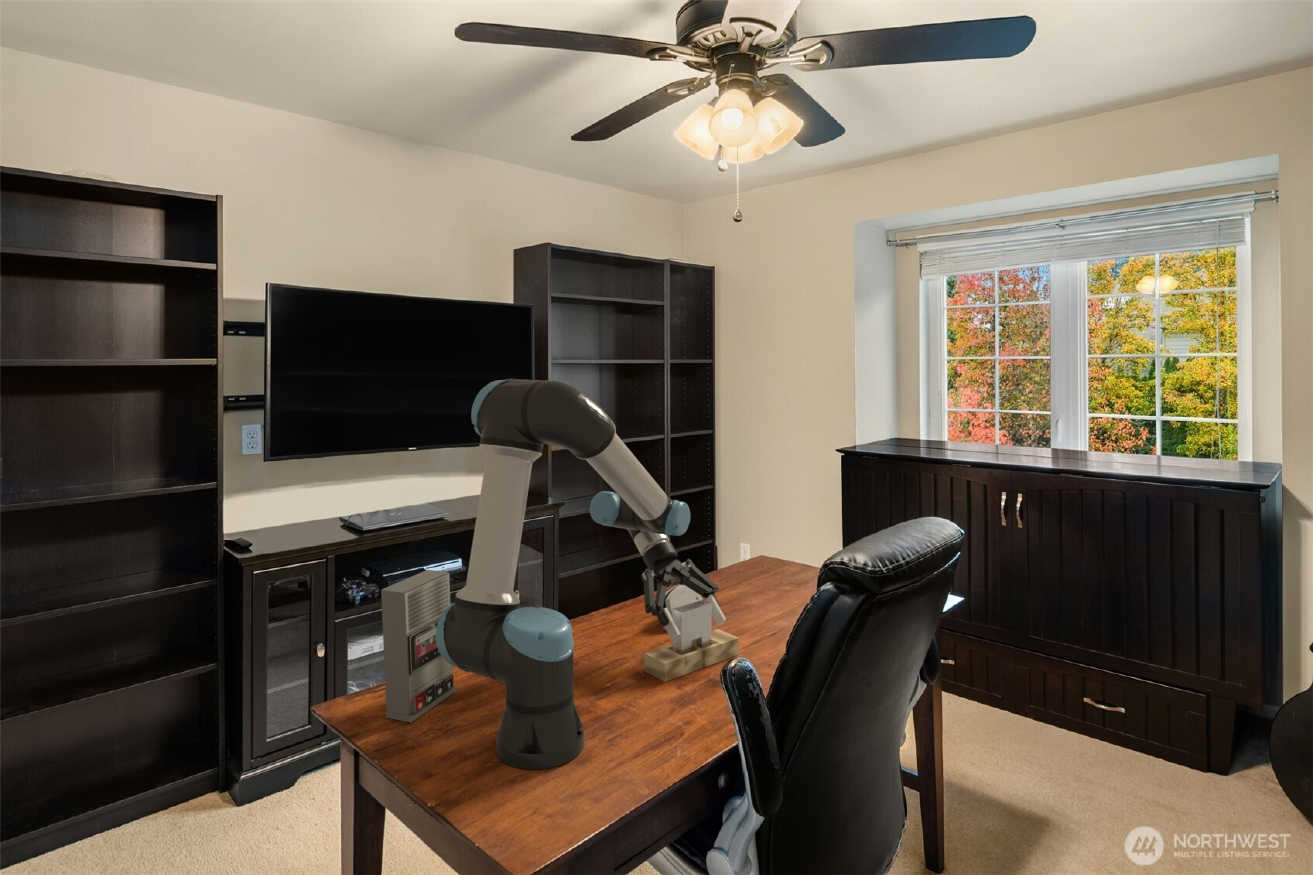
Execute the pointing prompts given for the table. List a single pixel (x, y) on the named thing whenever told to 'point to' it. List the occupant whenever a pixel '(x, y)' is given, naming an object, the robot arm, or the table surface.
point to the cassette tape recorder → (415, 645)
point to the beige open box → (690, 657)
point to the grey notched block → (692, 626)
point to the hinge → (679, 598)
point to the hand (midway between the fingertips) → (700, 630)
